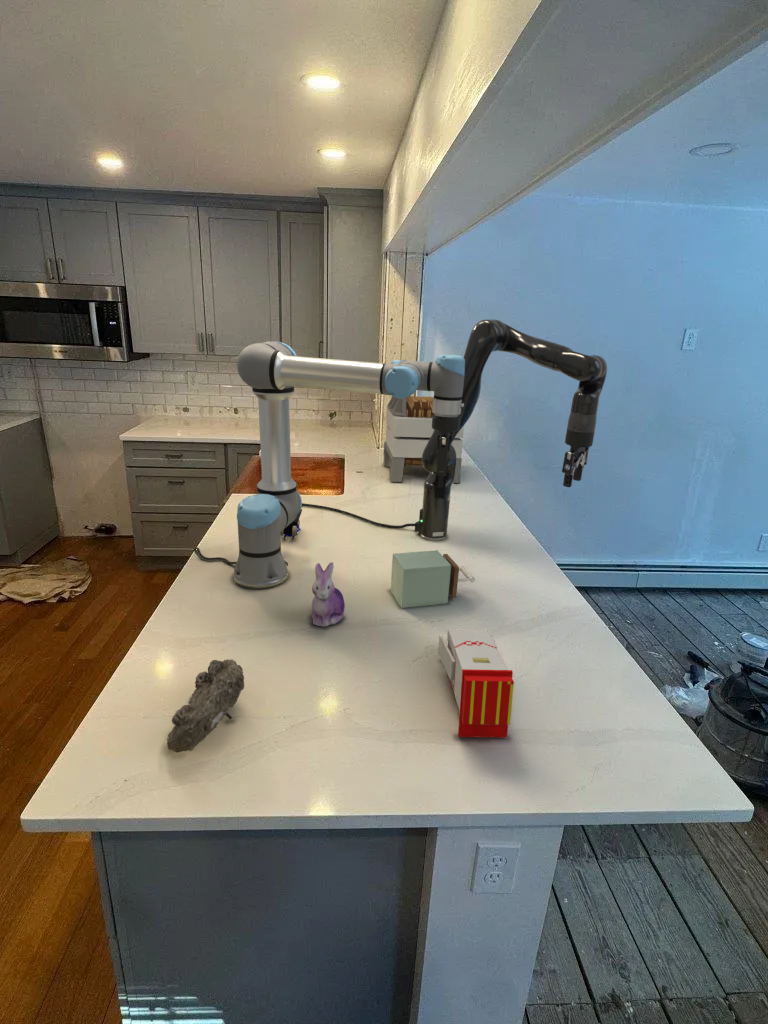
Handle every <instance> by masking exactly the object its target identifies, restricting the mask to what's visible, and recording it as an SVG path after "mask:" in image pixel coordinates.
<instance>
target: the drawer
mask: <svg viewBox="0 0 768 1024" xmlns="http://www.w3.org/2000/svg"><path fill="white" fill-rule="evenodd" d="M442 556H443V557H444V558H445V559H446V560H447V561H448V563H449V564H450V565H451V572H450V583H449V593H448V596H450V598H451V599H457V596H458V595H457V594H458V586H459V585H458V584H459V583H461V582H468V581H469V582H470V583H474V582H475V581H476V578H475V577H474V575H472V573H471V572H470V571H469V570H468V569H467V568H466V567H465V566H463V565H462V566H459V565H458V564H457V563H456V562H455V561H454V560H453V558H452V557H451V556H450V555H449V554H448V553H442ZM460 572H461V573H462V574H463V576H464V578H459V575H460Z"/></svg>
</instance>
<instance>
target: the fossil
mask: <svg viewBox="0 0 768 1024" xmlns="http://www.w3.org/2000/svg"><path fill="white" fill-rule="evenodd" d="M243 670H244V669H243V667H242V665H240V664H237V662H236V661H235V660H234V659H232V658H231V659H227V658H226V659H224V660H223V661H222V660H217V659H212V660H211V661H210V663H209V665H208V666H207V671H201V672H199V673H198V674H197V675H196V676H195V680H194V684H195V685H194V687H195V689H194V690H193V693H192V694H191V697H190V698H189V700H188V704H184V705H182V706H181V707H180V709H177V710H176V711H175V713H174V715H173V716H172V718H171V723H172V724H173V727H172V730H171V731H170V732H168V734H167V738H166V741H167V742H166V745H167V749H168V750H169V751H173V752H174V753H176V754H178V753H182V752H188V751H189V752H192V751H193V750H195V748H196V747H197V746H199V744H200V743H201V742H203V741H204V740H205V739H206V738H207V737H208V736H209V735H210V734H211V733H212V732H214V730H215V729H217V727H218V726H219V724H220V722H221V721H222V720H223V719H224V718H225V716H226V717H227V719H229V720H233V717H232V715H230V714H229V710H230V709H231V708H234V706H235V704H236V703H237V702H238V699H239V697H240V695H241V693H242V691H243V690H245V689H244V688H245V675H244V671H243Z"/></svg>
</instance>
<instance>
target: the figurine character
mask: <svg viewBox="0 0 768 1024" xmlns="http://www.w3.org/2000/svg"><path fill="white" fill-rule="evenodd" d="M302 512H303V508H301V510H300V513H299V514H298V516H297V518H296V519H295V520H294V521H293V522H292V523H290V524H289V525H288V526H287V527H286V528H285V529H284V530H283V531H282V532H281V537H282V540H283V541H286V539H287V538H291V541H294V539H295V537H297V536H298V533H299V532H300V531H301V527H300V525H301V524H300V523H301V520H300V517H301V516H302Z"/></svg>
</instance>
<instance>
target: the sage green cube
mask: <svg viewBox="0 0 768 1024" xmlns="http://www.w3.org/2000/svg"><path fill="white" fill-rule="evenodd" d="M450 572H451V565H450V564H449V563H448V561H447V560H446V559H445V558H444V557H443V554H441V552H440V551H439V550H438V549H437V550H424V551H423V550H422V551H410V552H409V551H408V552H397V553H395V552H394V553H392V561H391V577H390V579H391V580H390V592H391V594H392V595H393V597H394V598H395V600H396V601H397V604H398V605H399V607H400V609H406V608H413V607H415V608H417V607H425V606H434V605H445V604H448V602H449V594H448V593H449V583H450Z"/></svg>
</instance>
